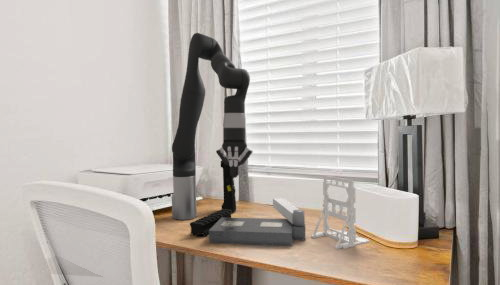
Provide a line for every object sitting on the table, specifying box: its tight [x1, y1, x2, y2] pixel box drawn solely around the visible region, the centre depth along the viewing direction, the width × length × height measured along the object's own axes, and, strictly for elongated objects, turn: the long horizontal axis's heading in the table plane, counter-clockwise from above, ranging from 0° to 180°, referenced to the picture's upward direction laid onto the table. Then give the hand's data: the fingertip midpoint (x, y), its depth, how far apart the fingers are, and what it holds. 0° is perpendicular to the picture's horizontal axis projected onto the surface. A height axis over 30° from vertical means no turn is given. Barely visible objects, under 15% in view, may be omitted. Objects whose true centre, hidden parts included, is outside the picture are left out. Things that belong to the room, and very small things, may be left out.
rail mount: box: [189, 208, 233, 238], centre depth 120 cm, size 21×6×5 cm, turn 155°
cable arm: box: [272, 197, 306, 226], centre depth 120 cm, size 28×4×4 cm, turn 10°
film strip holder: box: [310, 174, 371, 250], centre depth 106 cm, size 14×14×20 cm
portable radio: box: [220, 153, 237, 212], centre depth 145 cm, size 8×6×25 cm
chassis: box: [208, 217, 306, 247], centre depth 110 cm, size 30×16×4 cm, turn 81°
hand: (234, 177), depth 114 cm, fingers closed
